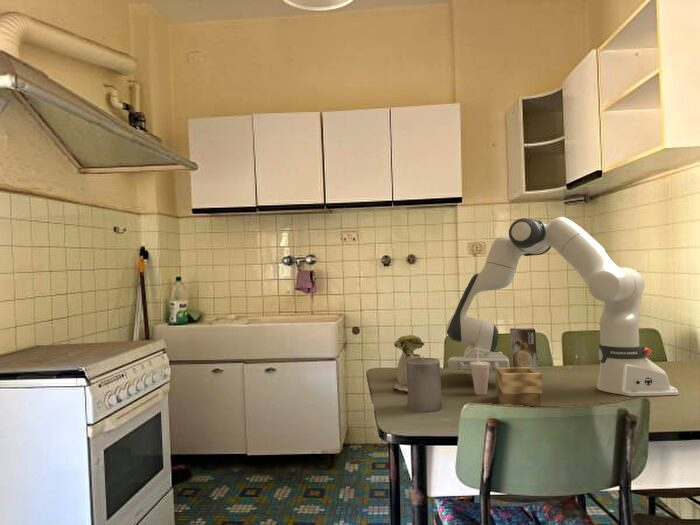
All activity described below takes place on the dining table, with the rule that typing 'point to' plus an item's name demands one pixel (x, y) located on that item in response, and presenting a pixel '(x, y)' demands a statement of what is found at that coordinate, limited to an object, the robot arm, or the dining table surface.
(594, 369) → the dining table surface
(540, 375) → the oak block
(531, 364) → the coffee box
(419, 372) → the pillar candle
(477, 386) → the smoothie
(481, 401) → the dining table surface
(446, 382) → the dining table surface
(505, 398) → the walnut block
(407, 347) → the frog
